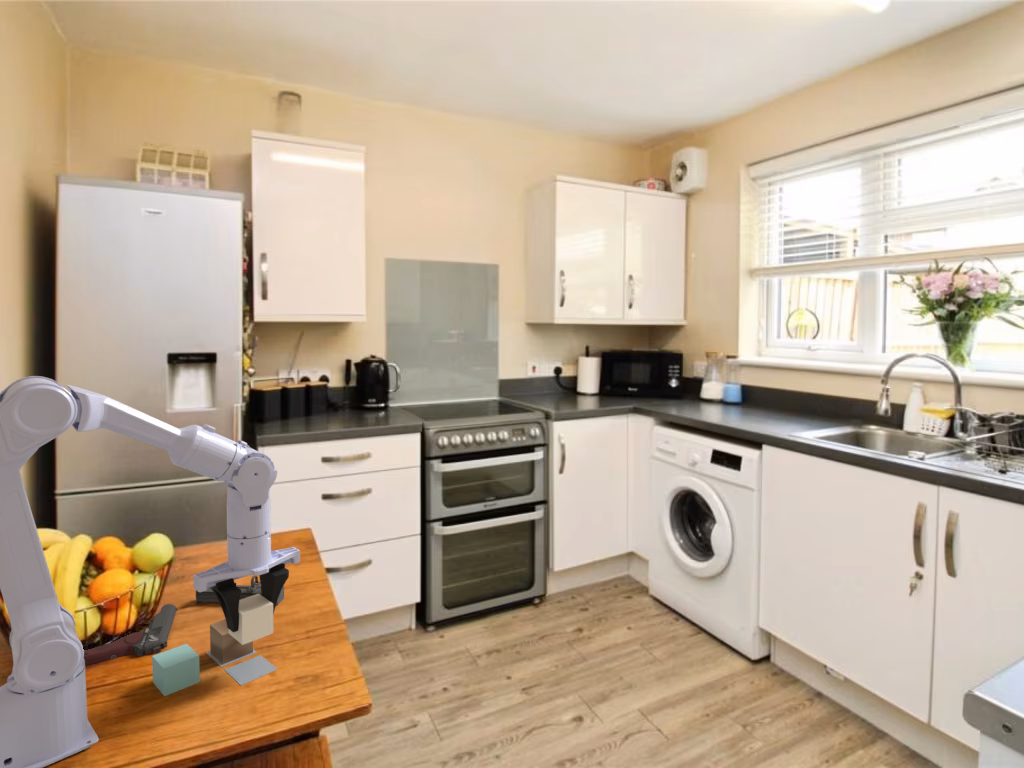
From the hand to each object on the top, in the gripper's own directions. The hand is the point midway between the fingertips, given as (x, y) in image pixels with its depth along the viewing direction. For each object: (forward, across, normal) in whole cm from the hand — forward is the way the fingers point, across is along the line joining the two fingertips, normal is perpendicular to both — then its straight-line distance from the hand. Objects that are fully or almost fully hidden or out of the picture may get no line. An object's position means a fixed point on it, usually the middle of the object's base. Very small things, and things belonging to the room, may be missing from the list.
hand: (250, 622), depth 85 cm
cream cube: (+2, 0, 0) cm, 2 cm away
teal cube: (+8, -8, +4) cm, 12 cm away
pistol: (+8, -9, +23) cm, 26 cm away
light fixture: (+8, +8, +23) cm, 26 cm away
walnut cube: (+7, 0, +6) cm, 10 cm away
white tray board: (+8, -1, +4) cm, 9 cm away
